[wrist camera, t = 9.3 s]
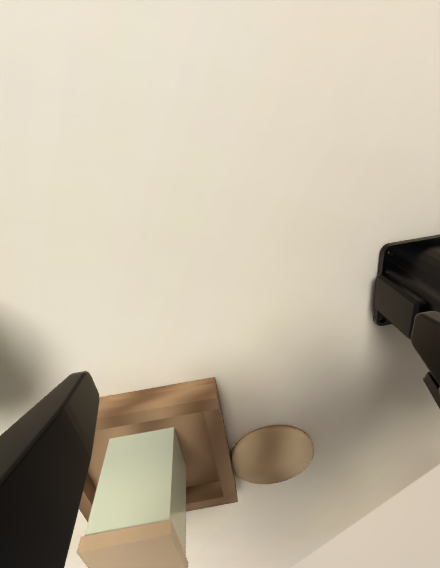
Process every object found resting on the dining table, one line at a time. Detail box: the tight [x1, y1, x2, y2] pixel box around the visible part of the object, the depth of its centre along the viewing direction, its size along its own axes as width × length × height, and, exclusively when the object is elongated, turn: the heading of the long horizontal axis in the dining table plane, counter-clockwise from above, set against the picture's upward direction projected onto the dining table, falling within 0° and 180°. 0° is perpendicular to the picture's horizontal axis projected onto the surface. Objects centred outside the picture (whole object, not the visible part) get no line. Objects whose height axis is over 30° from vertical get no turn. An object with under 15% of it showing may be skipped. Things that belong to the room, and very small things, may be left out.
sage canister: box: [77, 427, 188, 568], centre depth 23 cm, size 6×6×8 cm
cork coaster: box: [231, 425, 314, 484], centre depth 29 cm, size 8×8×1 cm
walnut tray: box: [79, 377, 238, 522], centre depth 26 cm, size 14×14×2 cm
